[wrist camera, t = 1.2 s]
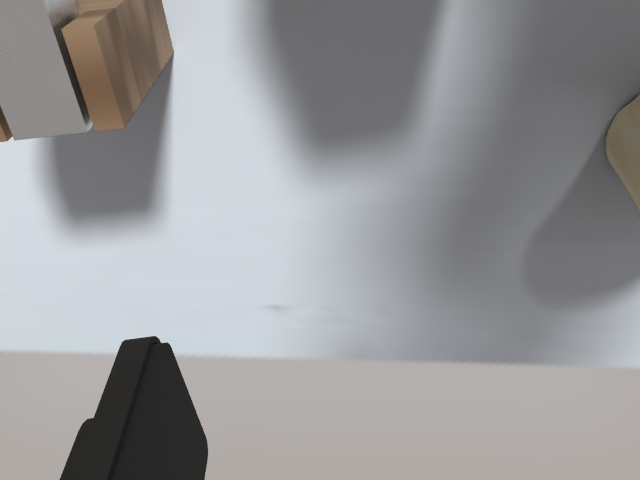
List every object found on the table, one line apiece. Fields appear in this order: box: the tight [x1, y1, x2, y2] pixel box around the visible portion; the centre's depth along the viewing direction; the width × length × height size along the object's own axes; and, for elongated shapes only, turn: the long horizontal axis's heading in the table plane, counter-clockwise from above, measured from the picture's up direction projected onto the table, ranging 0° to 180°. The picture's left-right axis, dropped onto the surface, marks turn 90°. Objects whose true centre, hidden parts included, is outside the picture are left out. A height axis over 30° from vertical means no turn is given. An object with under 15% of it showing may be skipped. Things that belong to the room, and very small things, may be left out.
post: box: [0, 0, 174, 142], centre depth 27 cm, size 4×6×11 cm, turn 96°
